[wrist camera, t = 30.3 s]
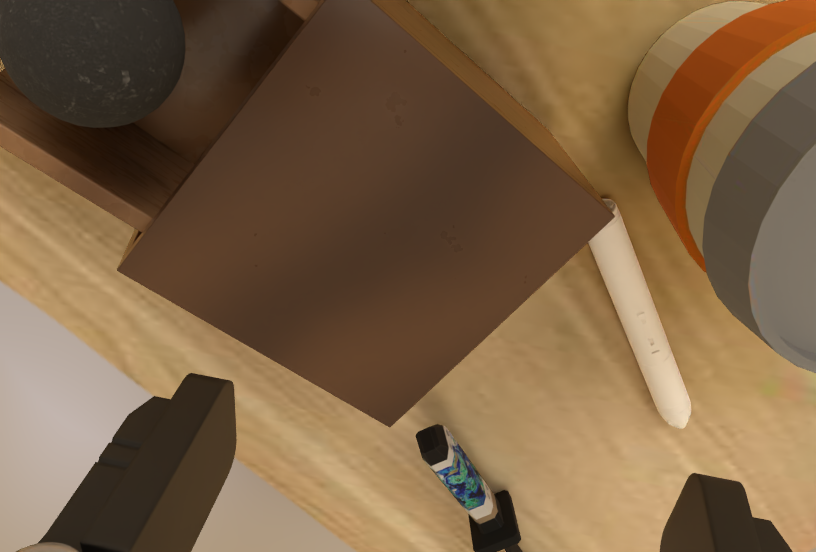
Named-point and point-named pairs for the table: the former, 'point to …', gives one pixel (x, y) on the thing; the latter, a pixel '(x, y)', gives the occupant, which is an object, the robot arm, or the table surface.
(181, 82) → the drawer
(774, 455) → the table surface
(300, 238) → the cabinet
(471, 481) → the knife
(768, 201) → the reusable coffee cup
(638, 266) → the marker
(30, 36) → the light bulb
